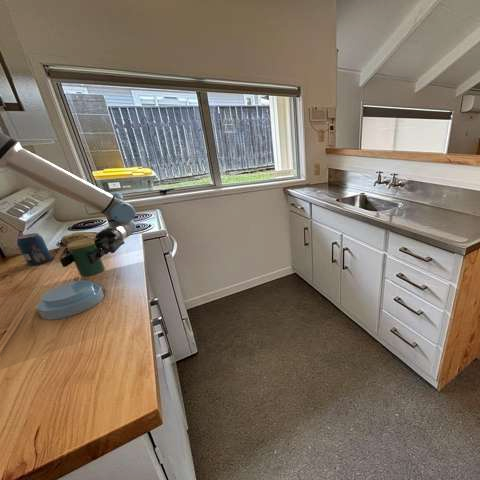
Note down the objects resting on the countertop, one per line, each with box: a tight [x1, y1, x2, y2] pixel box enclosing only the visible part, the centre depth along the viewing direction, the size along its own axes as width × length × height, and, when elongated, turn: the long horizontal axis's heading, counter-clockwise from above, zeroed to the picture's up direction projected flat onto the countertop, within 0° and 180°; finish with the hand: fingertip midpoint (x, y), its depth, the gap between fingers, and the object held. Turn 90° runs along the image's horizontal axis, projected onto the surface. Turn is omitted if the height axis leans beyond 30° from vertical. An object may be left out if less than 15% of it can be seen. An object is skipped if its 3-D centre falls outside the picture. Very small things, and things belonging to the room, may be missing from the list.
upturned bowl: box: [36, 279, 105, 321], centre depth 75 cm, size 14×14×5 cm
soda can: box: [16, 232, 53, 266], centre depth 102 cm, size 7×7×12 cm
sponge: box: [60, 231, 97, 246], centre depth 118 cm, size 13×8×20 cm
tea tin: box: [66, 239, 106, 278], centre depth 86 cm, size 7×7×11 cm
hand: (76, 261), depth 81 cm, fingers closed on tea tin, 7 cm apart
